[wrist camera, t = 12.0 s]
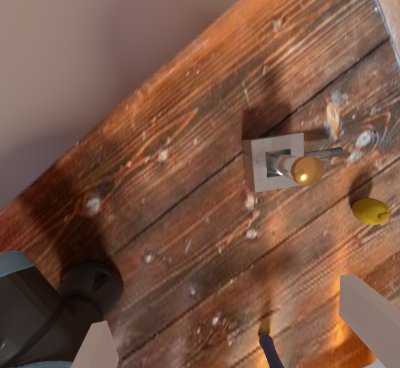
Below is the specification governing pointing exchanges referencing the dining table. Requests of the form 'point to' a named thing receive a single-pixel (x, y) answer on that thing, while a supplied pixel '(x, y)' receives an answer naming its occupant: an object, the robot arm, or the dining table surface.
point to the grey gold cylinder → (296, 167)
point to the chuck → (280, 144)
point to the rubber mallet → (270, 351)
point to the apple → (370, 211)
